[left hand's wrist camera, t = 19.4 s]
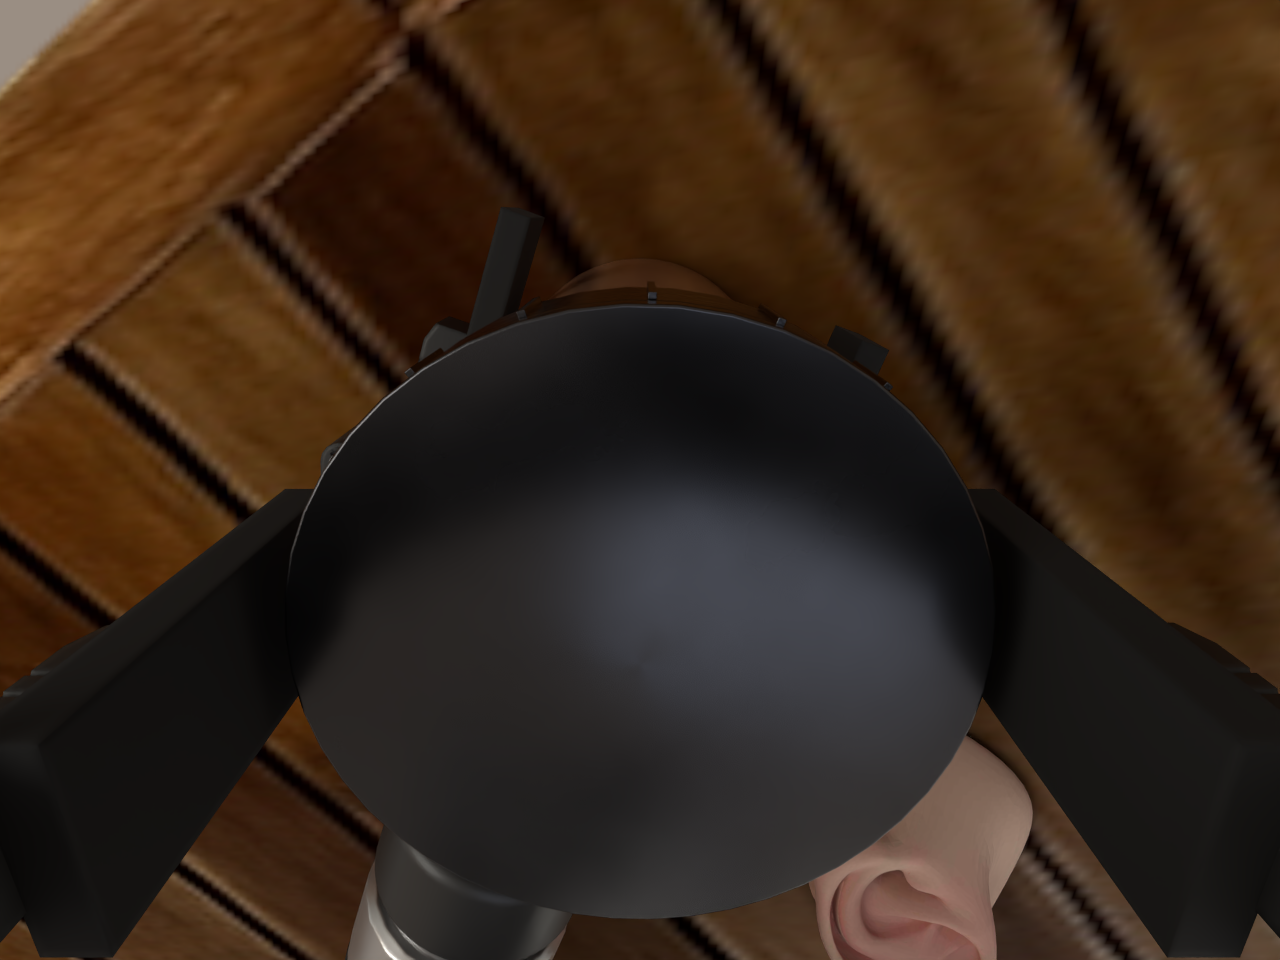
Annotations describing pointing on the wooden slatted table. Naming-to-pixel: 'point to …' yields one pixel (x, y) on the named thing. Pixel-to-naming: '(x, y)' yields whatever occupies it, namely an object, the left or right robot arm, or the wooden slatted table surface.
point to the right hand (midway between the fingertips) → (697, 276)
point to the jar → (639, 277)
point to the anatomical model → (931, 870)
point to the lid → (640, 606)
